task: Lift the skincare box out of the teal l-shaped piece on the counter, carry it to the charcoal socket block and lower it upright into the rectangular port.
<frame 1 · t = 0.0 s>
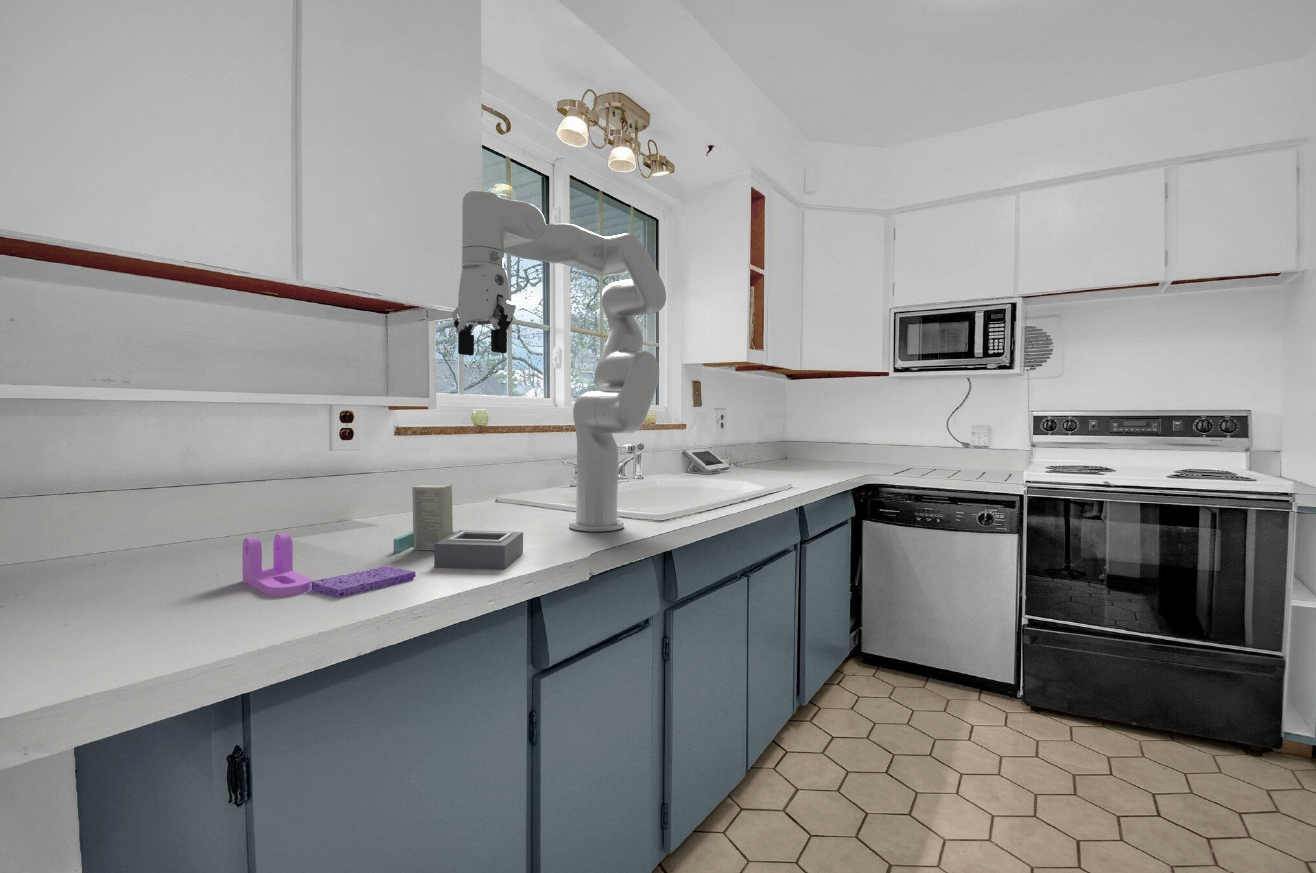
hand: (482, 353, 114), 37 cm above the worktop, tool pointing down, fingers open, 9 cm apart
bracket: (279, 588, 91), on the worktop
sponges: (365, 589, 92), on the worktop
skincare box: (432, 549, 117), on the worktop
teal l-shaped piece: (432, 548, 117), on the worktop
socket block: (480, 559, 109), on the worktop
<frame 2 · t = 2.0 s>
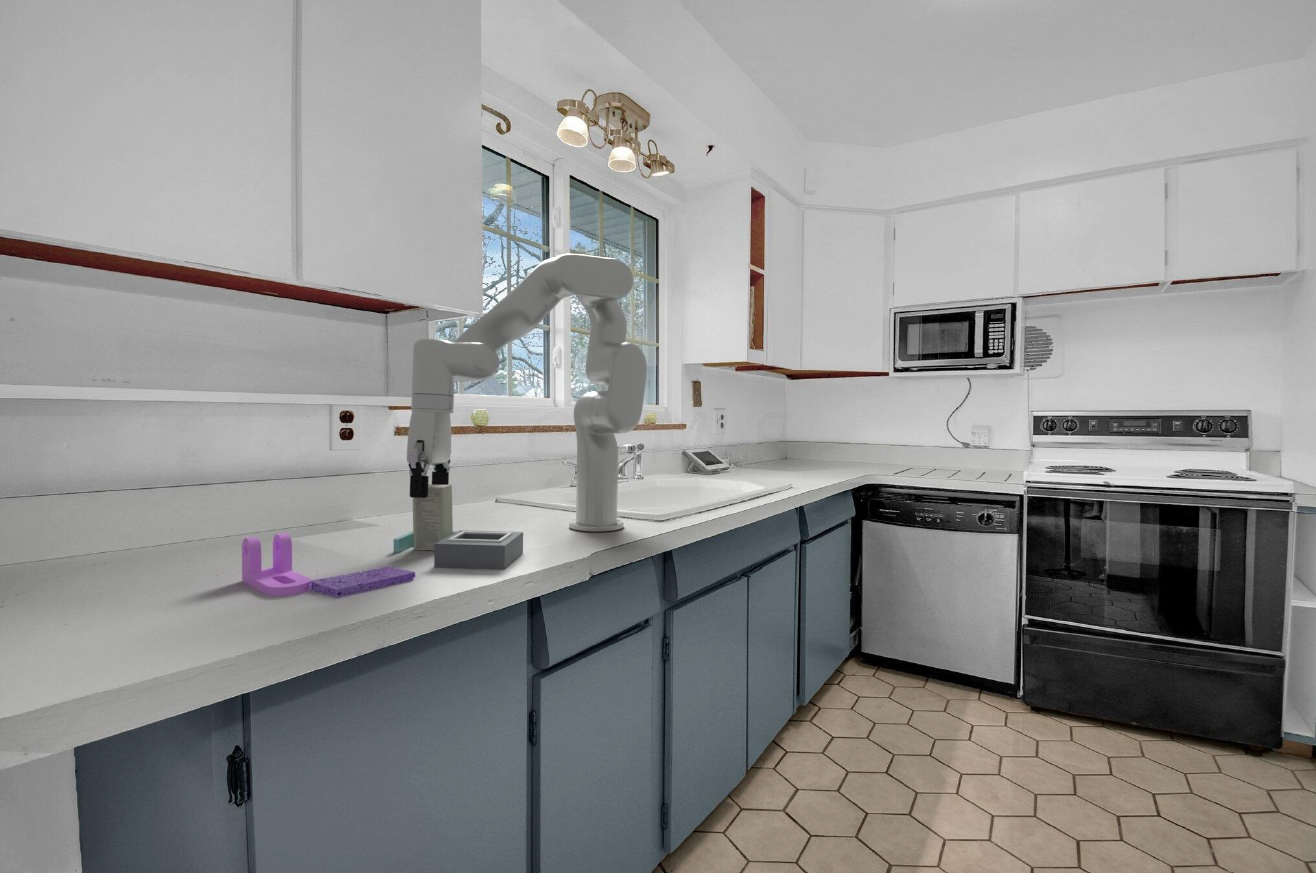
hand: (429, 494, 116), 10 cm above the worktop, tool pointing down, fingers open, 9 cm apart
nothing on the worktop moved.
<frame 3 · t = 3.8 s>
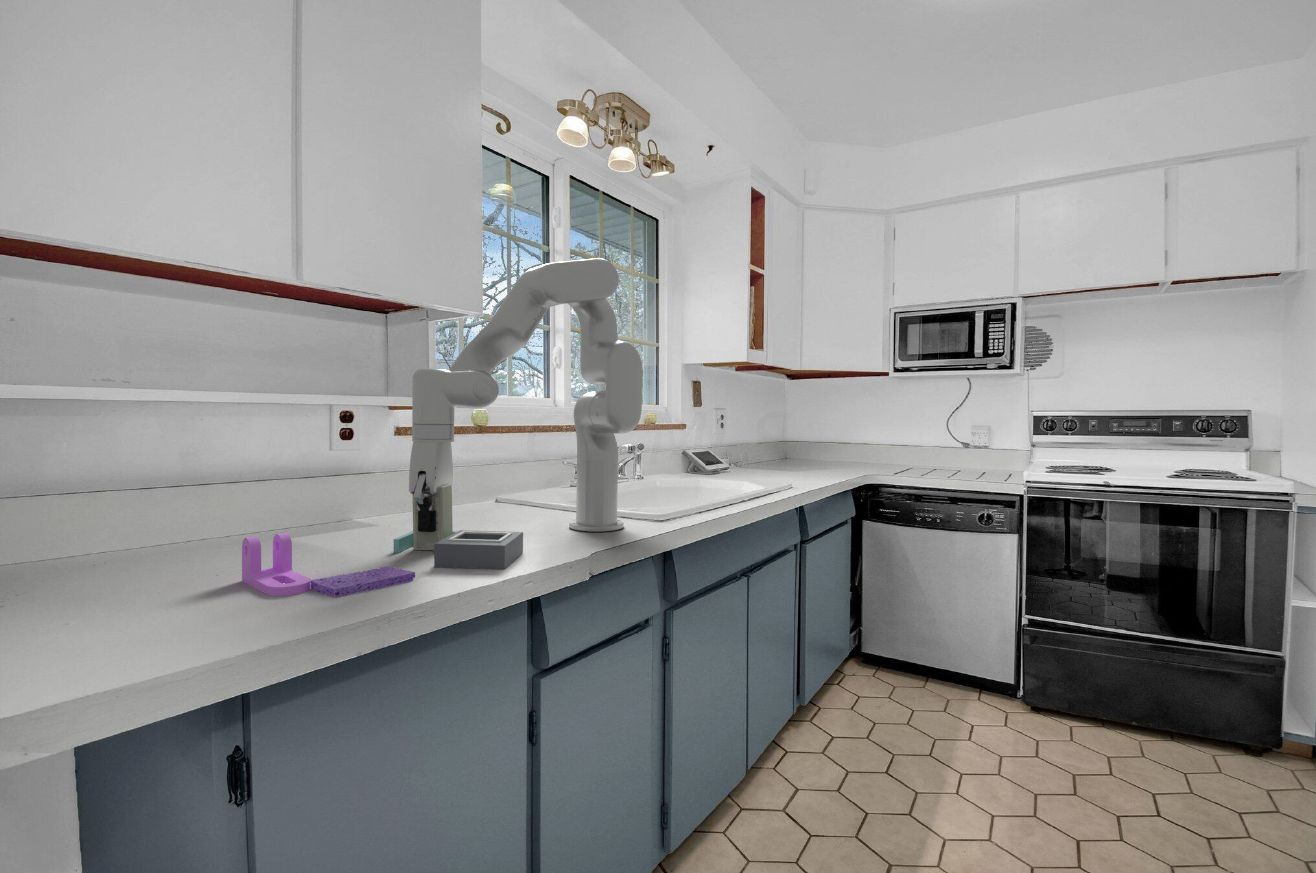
hand: (432, 528, 117), 4 cm above the worktop, tool pointing down, fingers closed on skincare box, 4 cm apart
skincare box: (432, 549, 117), on the worktop, touching gripper
everything else where it was.
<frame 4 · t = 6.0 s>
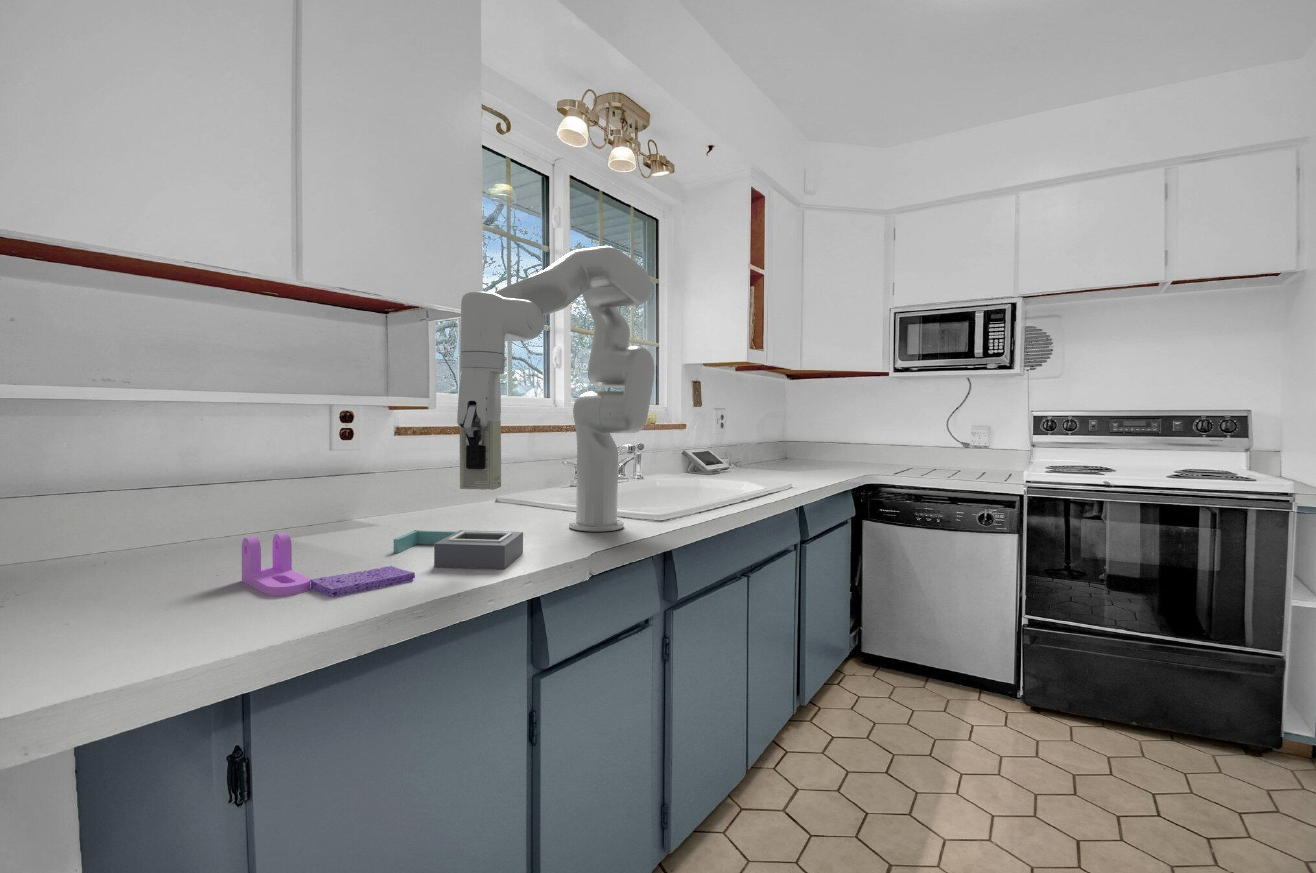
hand: (480, 466, 108), 17 cm above the worktop, tool pointing down, fingers closed on skincare box, 4 cm apart
skincare box: (479, 489, 108), point 13 cm above the worktop, touching gripper
everything else where it was.
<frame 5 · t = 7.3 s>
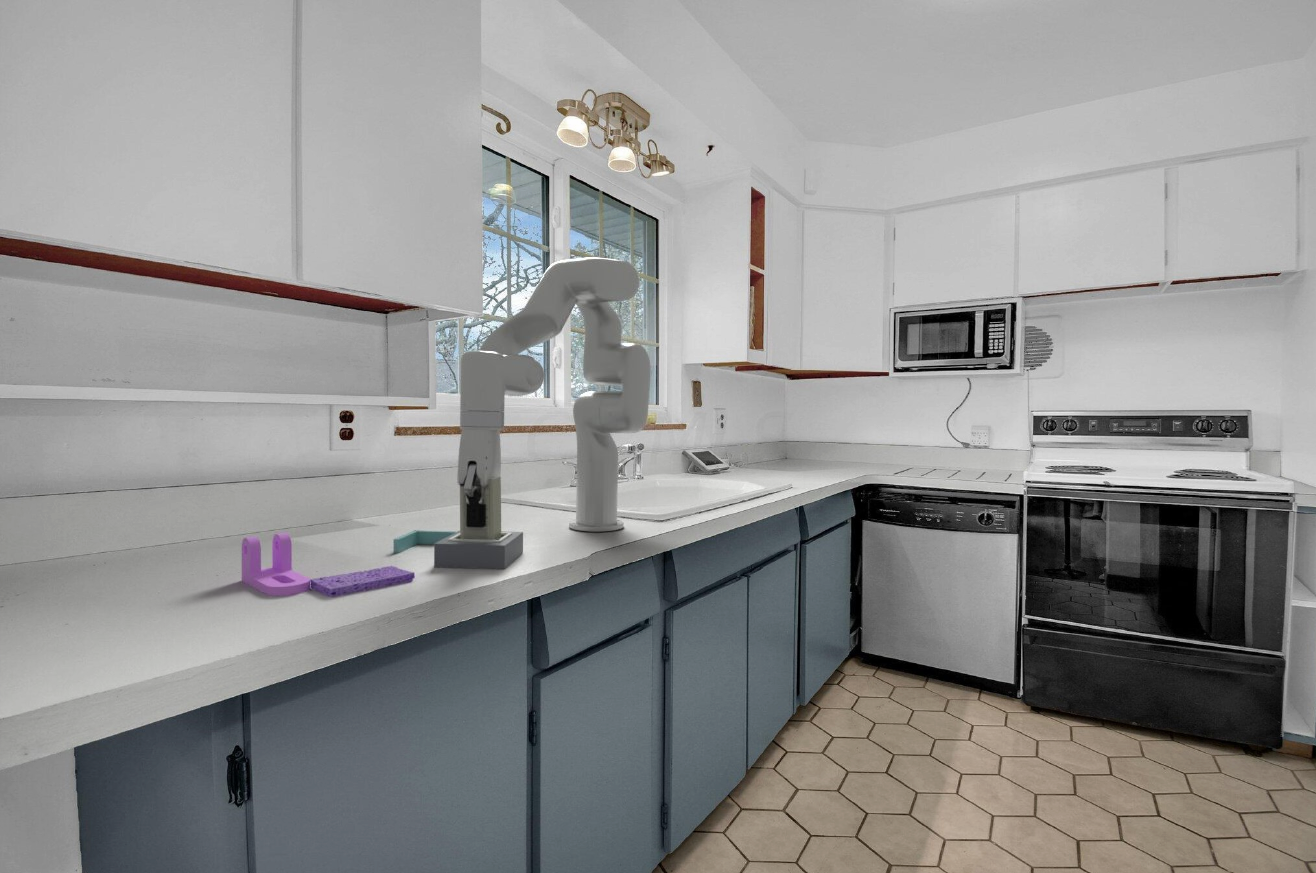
hand: (480, 523, 108), 7 cm above the worktop, tool pointing down, fingers closed on skincare box, 4 cm apart
skincare box: (480, 546, 108), point 2 cm above the worktop, touching gripper
everything else where it was.
when the fingers open (5 cm above the worktop, at t = 8.3 s): skincare box drops 1 cm, on the worktop.
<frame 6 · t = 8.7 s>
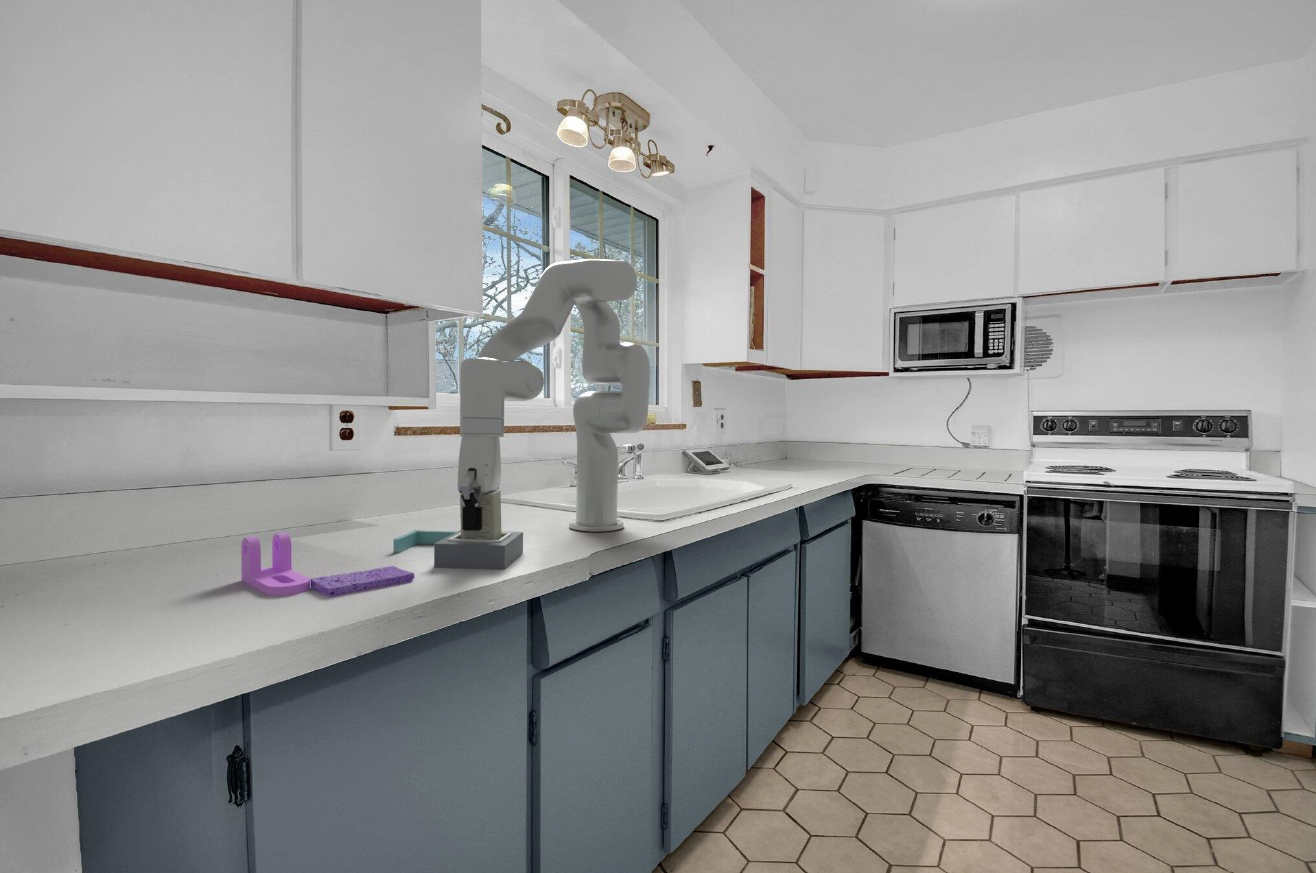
hand: (481, 525, 108), 6 cm above the worktop, tool pointing down, fingers open, 9 cm apart
skincare box: (481, 560, 109), on the worktop
everything else where it was.
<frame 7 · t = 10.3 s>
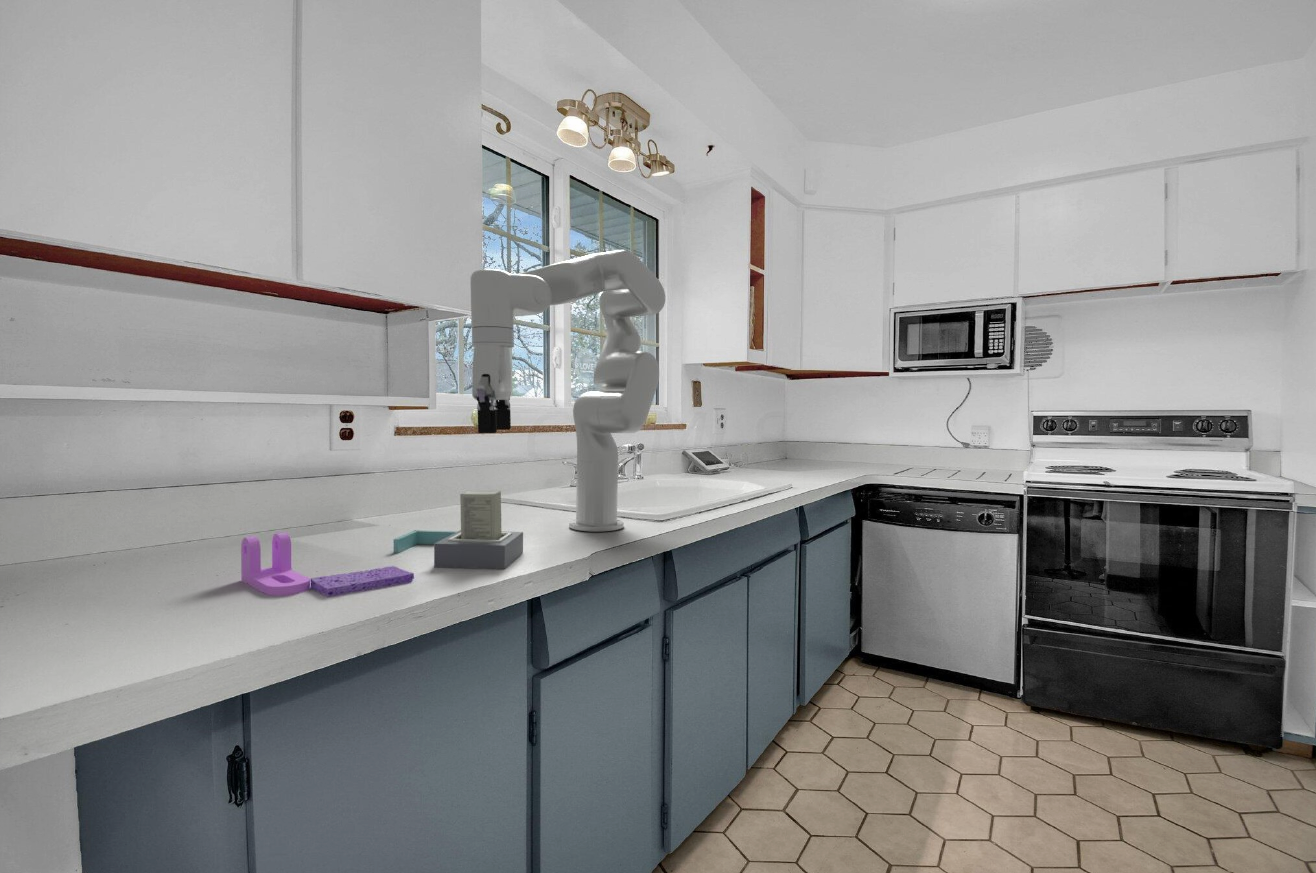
hand: (495, 431, 114), 23 cm above the worktop, tool pointing down, fingers open, 9 cm apart
nothing on the worktop moved.
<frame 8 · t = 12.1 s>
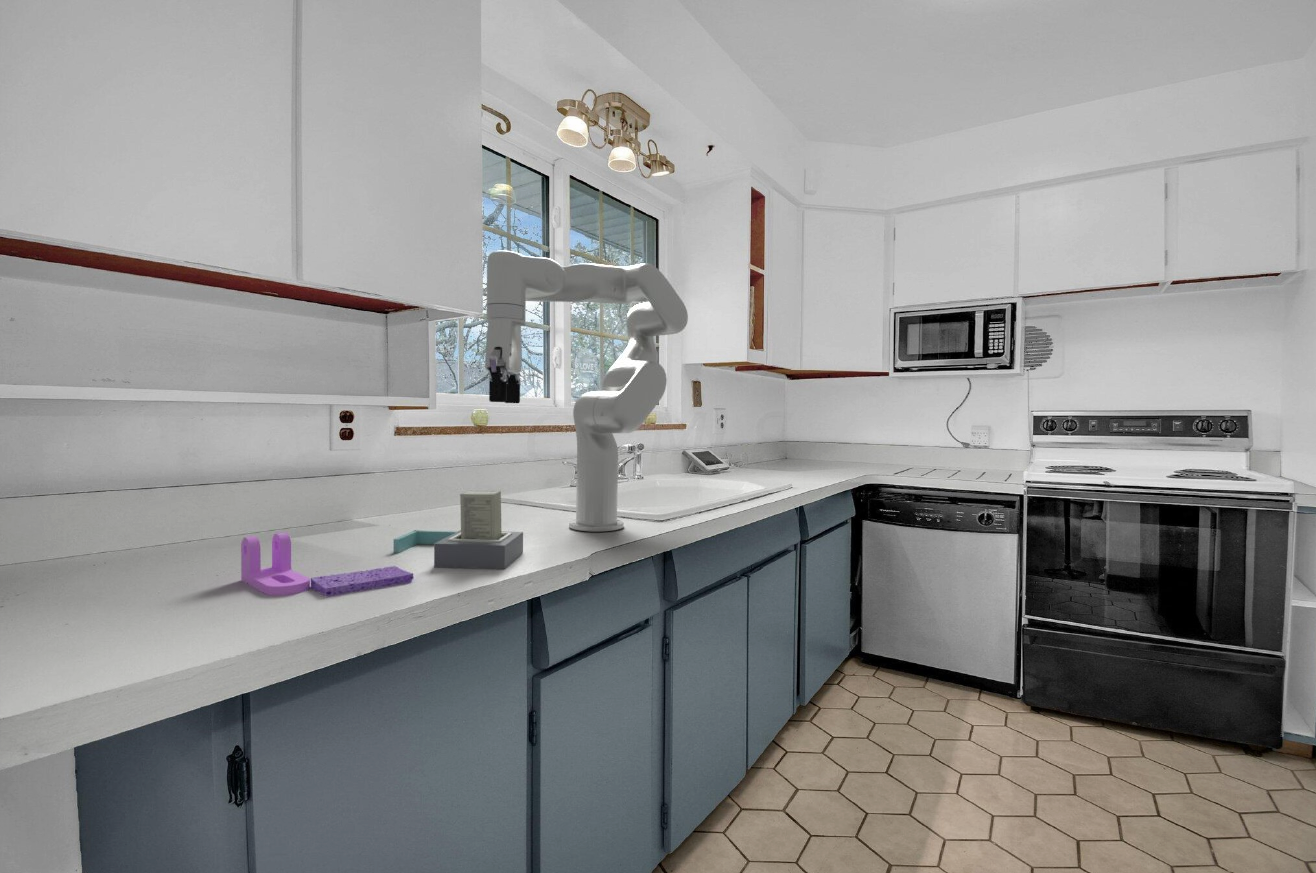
hand: (505, 402, 122), 28 cm above the worktop, tool pointing down, fingers open, 9 cm apart
nothing on the worktop moved.
at the end: skincare box 0.0 cm off-centre on the socket block, point 0.0 cm above the socket block's base; skincare box tilted 0°; the gripper is holding nothing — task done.
